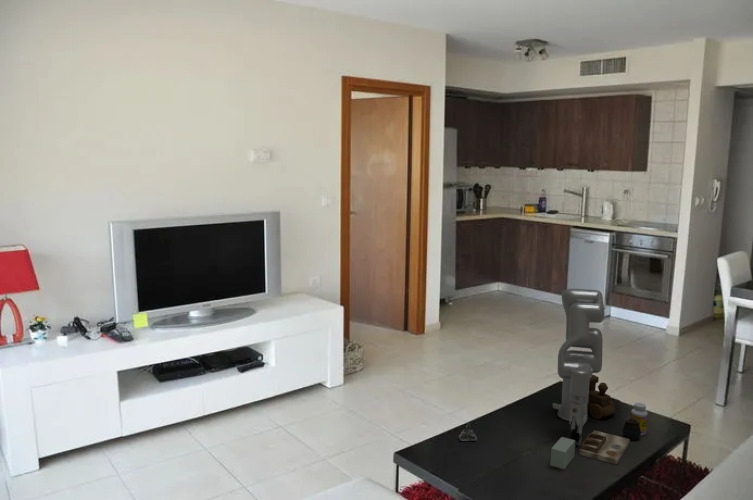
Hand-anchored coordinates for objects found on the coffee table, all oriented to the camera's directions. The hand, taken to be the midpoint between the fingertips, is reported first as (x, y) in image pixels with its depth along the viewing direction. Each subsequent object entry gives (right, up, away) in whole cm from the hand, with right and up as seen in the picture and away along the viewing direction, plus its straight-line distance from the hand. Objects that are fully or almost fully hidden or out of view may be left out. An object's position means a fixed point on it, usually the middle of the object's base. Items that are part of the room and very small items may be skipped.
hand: (576, 438), depth 258 cm
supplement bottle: (+31, -1, +11) cm, 33 cm away
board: (+10, -3, -4) cm, 12 cm away
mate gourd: (+26, -2, +6) cm, 26 cm away
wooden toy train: (+18, +2, +33) cm, 37 cm away
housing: (-10, -5, -14) cm, 18 cm away
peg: (0, -2, 0) cm, 2 cm away
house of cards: (-44, -2, +6) cm, 45 cm away
